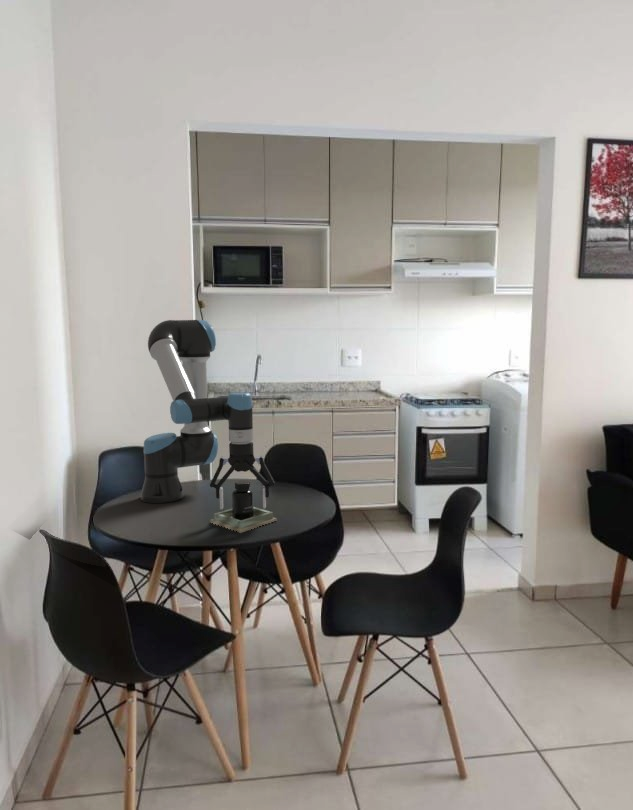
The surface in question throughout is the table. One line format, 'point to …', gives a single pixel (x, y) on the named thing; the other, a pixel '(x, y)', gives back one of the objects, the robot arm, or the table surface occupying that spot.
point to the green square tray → (241, 526)
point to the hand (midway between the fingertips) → (243, 507)
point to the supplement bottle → (242, 501)
